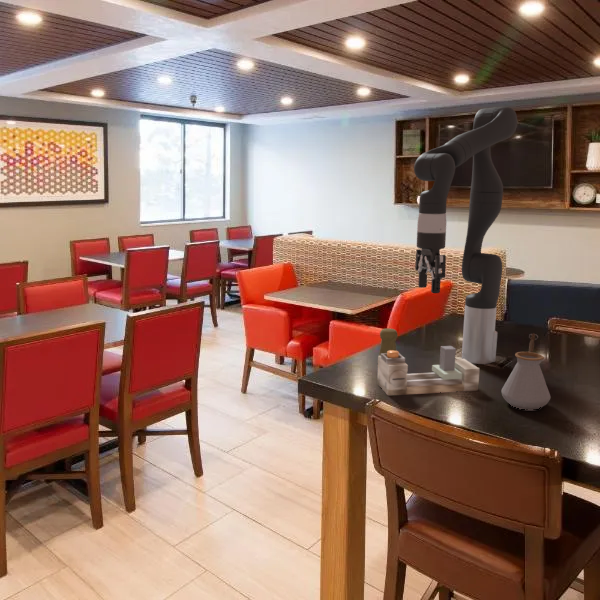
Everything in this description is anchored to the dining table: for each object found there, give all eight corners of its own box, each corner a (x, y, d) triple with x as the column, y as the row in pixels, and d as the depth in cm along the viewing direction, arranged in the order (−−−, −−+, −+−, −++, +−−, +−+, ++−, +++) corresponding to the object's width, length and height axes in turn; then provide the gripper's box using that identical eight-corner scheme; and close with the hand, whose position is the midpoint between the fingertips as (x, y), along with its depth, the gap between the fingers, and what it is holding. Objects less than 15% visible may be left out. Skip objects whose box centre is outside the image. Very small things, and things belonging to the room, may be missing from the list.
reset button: (396, 357, 159) (396, 350, 158) (400, 360, 156) (400, 353, 156) (385, 357, 158) (385, 350, 158) (389, 361, 155) (389, 353, 155)
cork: (397, 368, 177) (398, 332, 174) (376, 366, 178) (377, 330, 176) (398, 362, 182) (399, 327, 180) (378, 360, 184) (379, 326, 181)
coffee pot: (548, 416, 141) (554, 355, 138) (497, 408, 146) (502, 349, 143) (552, 389, 160) (557, 334, 157) (507, 382, 165) (511, 330, 162)
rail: (462, 379, 167) (465, 347, 165) (478, 391, 158) (481, 357, 156) (377, 384, 163) (378, 351, 161) (388, 396, 153) (390, 361, 152)
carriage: (448, 369, 165) (450, 343, 164) (461, 378, 158) (463, 351, 156) (431, 370, 164) (433, 343, 163) (443, 379, 157) (445, 352, 155)
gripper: (456, 232, 153) (453, 294, 157) (433, 227, 167) (430, 285, 170) (429, 233, 152) (426, 295, 155) (408, 228, 165) (405, 286, 169)
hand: (428, 290), depth 163 cm, fingers open, 8 cm apart
